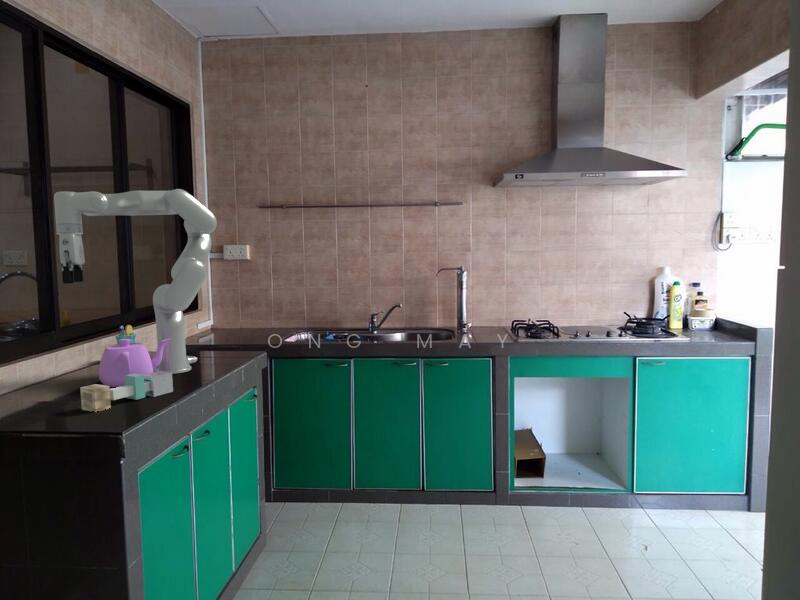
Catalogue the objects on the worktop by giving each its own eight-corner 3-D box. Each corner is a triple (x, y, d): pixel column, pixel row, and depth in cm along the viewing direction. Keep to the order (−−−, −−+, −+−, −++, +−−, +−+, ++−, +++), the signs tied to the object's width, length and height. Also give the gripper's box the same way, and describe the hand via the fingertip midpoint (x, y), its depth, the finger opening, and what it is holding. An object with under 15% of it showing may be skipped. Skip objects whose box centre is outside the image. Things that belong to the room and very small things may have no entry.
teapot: (98, 394, 187) (94, 346, 185) (100, 381, 206) (97, 337, 204) (176, 385, 196) (173, 339, 195) (171, 374, 215) (169, 332, 214)
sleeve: (160, 389, 191) (159, 371, 190) (173, 391, 188) (172, 372, 187) (140, 394, 185) (139, 375, 184) (153, 396, 182) (152, 377, 181)
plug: (160, 389, 190) (158, 367, 190) (170, 390, 188) (169, 369, 187) (105, 403, 174) (104, 379, 174) (116, 404, 172) (114, 381, 171)
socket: (96, 405, 173) (95, 384, 172) (110, 408, 169) (109, 386, 169) (81, 409, 169) (80, 387, 168) (95, 412, 166) (94, 389, 165)
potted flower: (133, 363, 238) (130, 325, 237) (111, 364, 236) (109, 326, 235) (140, 357, 252) (138, 321, 250) (120, 358, 250) (118, 322, 249)
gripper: (73, 229, 190) (77, 283, 191) (89, 230, 206) (93, 280, 208) (47, 229, 188) (51, 284, 189) (65, 231, 205) (69, 281, 206)
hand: (73, 282), depth 199 cm, fingers open, 9 cm apart
